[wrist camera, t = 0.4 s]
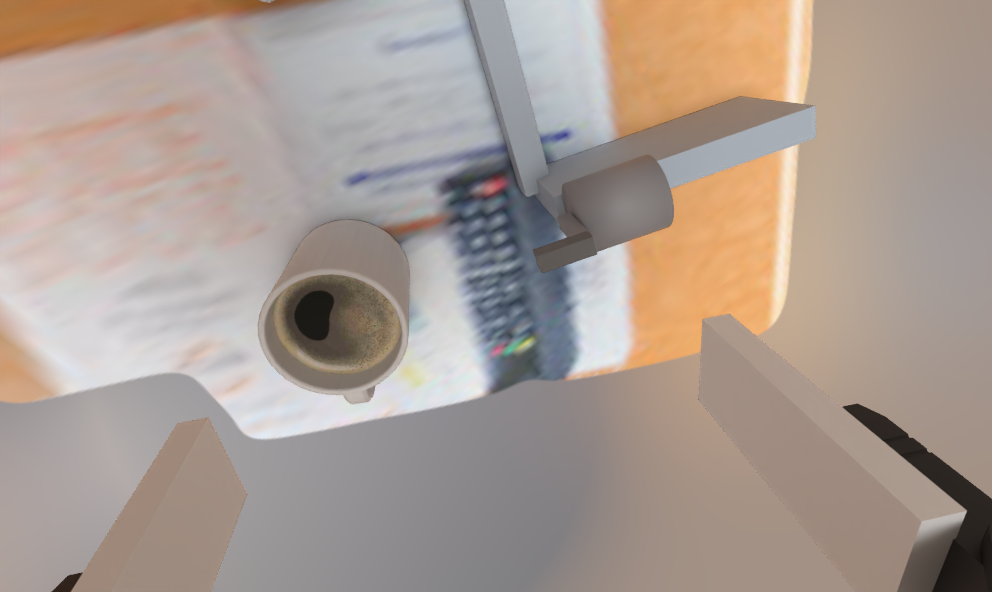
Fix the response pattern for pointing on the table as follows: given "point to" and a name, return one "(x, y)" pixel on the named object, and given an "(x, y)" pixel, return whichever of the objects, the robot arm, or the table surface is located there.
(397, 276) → the mug
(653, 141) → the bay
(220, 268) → the table surface
